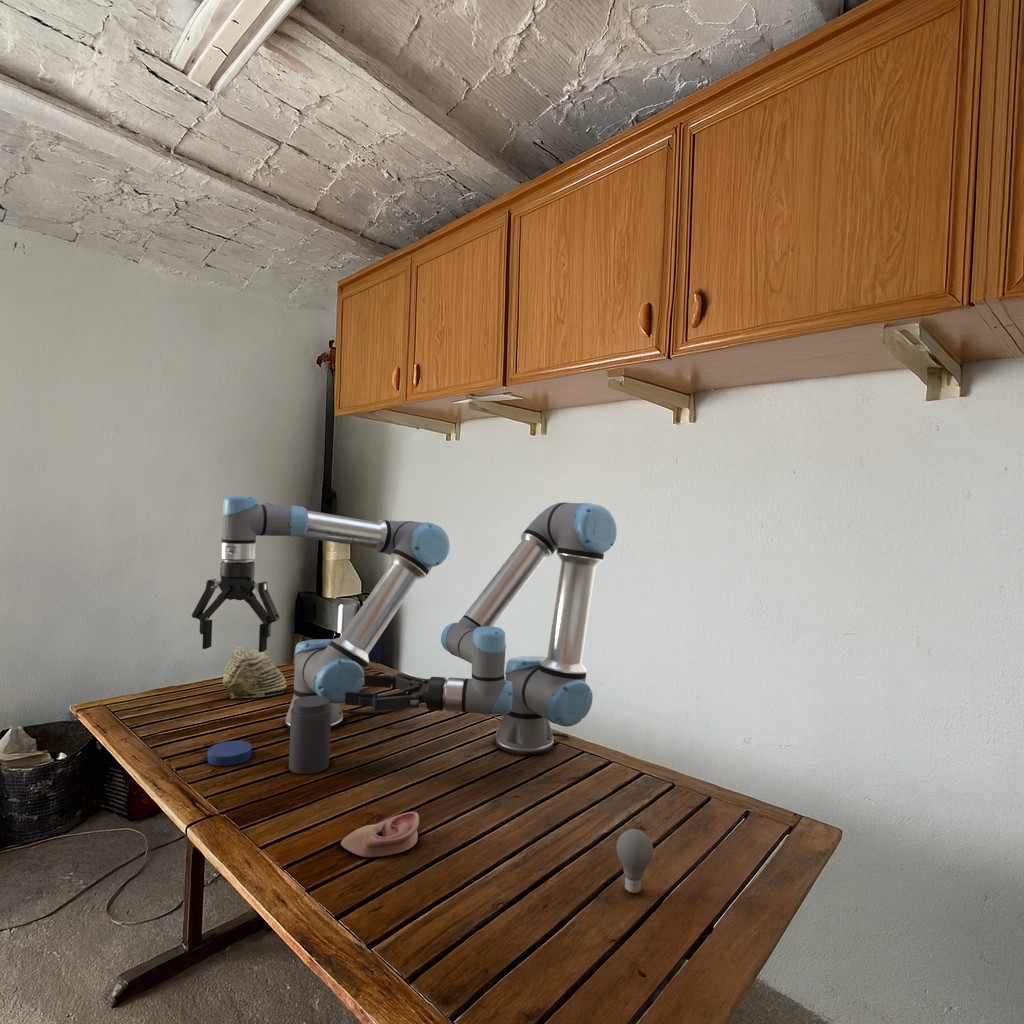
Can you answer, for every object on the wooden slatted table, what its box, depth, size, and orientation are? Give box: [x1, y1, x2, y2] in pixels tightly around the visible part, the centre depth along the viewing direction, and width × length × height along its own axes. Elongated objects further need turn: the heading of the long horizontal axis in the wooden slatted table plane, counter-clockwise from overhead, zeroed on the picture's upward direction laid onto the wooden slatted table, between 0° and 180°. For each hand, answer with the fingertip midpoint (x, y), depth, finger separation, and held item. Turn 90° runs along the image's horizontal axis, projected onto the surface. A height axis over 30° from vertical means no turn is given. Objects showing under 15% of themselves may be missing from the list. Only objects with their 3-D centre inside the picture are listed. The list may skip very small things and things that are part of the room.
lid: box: [206, 740, 253, 767], centre depth 151 cm, size 10×10×2 cm
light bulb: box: [615, 828, 654, 894], centre depth 106 cm, size 6×6×10 cm
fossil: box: [222, 646, 288, 699], centre depth 198 cm, size 9×18×15 cm, turn 132°
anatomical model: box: [340, 811, 420, 858], centre depth 117 cm, size 13×4×12 cm
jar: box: [288, 696, 332, 775], centre depth 149 cm, size 9×9×15 cm
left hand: (234, 649), depth 151 cm, fingers open, 13 cm apart
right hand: (355, 688), depth 147 cm, fingers open, 13 cm apart
